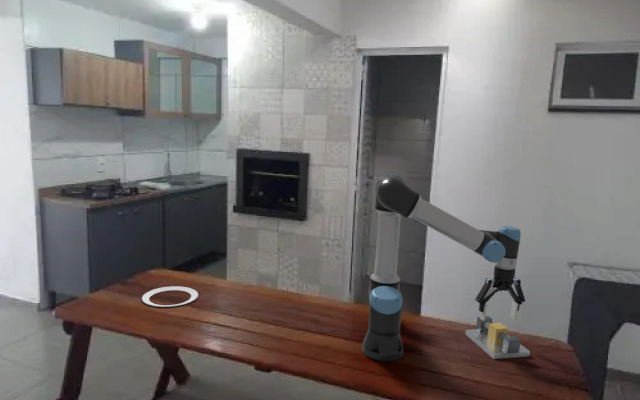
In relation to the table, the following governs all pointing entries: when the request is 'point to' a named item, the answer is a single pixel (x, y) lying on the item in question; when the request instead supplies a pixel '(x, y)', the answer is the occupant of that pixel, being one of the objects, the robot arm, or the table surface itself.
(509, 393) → the table surface
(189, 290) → the flat white ring
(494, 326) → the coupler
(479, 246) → the robot arm
